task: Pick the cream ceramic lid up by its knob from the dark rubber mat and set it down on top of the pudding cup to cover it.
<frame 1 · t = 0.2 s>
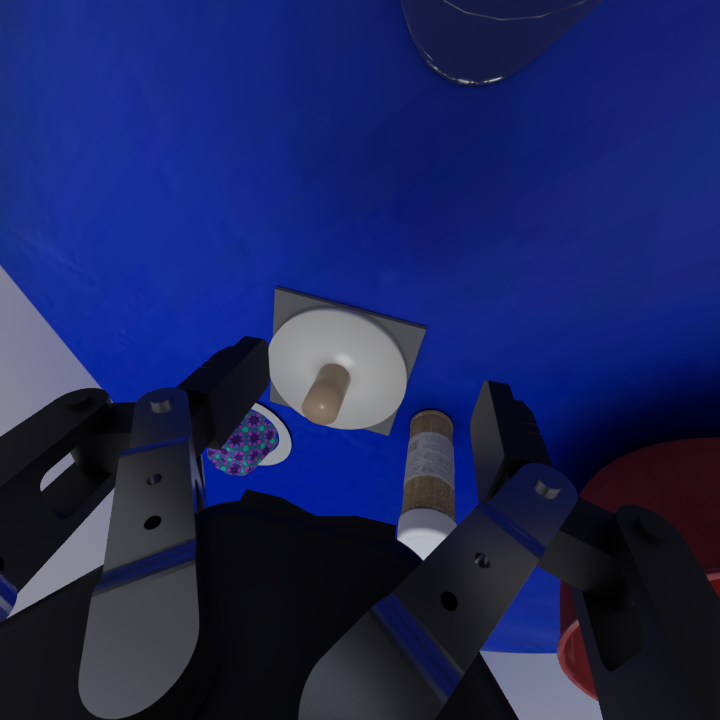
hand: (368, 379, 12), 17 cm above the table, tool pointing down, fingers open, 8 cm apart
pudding: (250, 428, 43), on the table
mixing bowl: (673, 484, 34), on the table
mat: (339, 367, 34), on the table
lid: (337, 370, 34), point 1 cm above the table, touching mat
sprinkles bottle: (431, 422, 36), on the table
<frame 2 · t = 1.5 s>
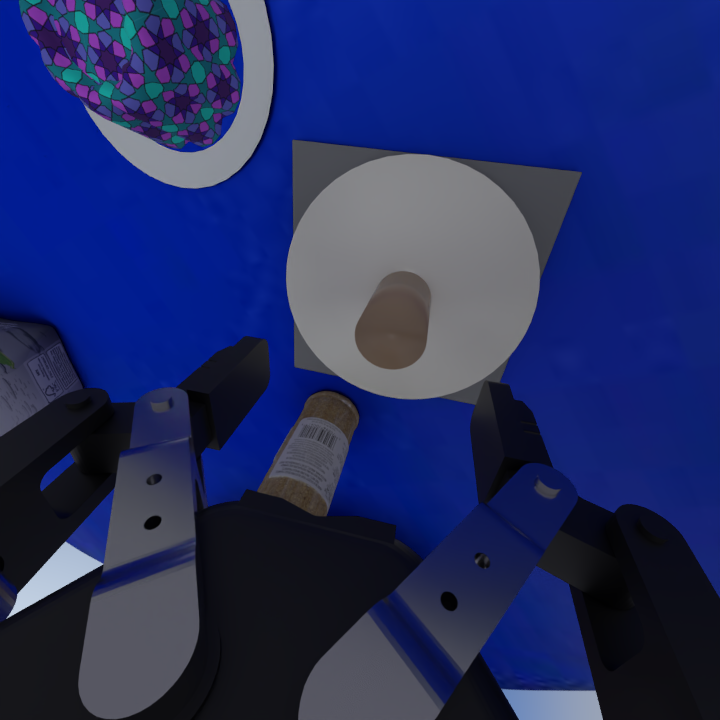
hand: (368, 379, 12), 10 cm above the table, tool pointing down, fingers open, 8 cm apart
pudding: (174, 58, 17), on the table
mat: (405, 289, 20), on the table
lid: (404, 292, 20), point 1 cm above the table, touching mat
sprinkles bottle: (333, 410, 27), on the table
juice carton: (36, 352, 31), on the table
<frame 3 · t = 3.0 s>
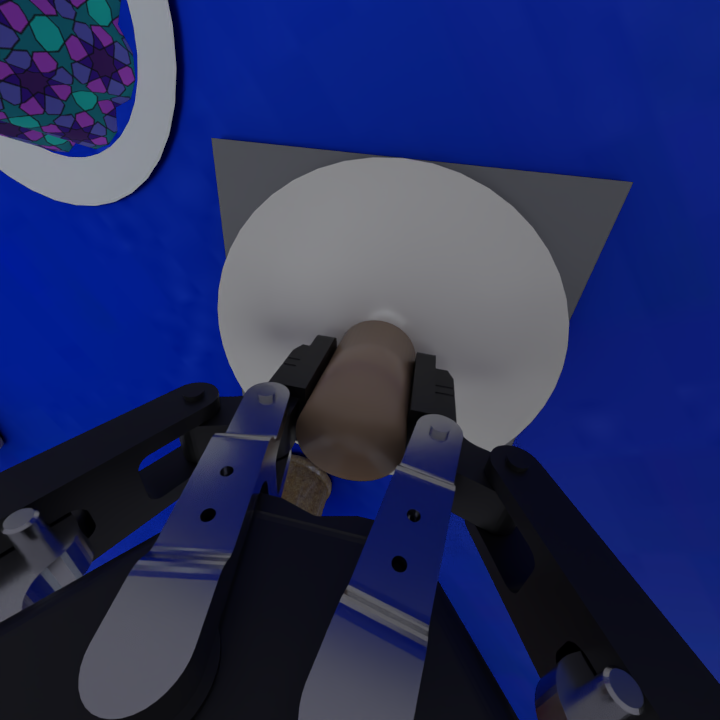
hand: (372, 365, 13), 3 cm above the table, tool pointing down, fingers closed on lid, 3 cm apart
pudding: (40, 22, 12), on the table
mat: (382, 336, 15), on the table
lid: (380, 342, 15), point 1 cm above the table, touching gripper, mat
sprinkles bottle: (301, 473, 22), on the table
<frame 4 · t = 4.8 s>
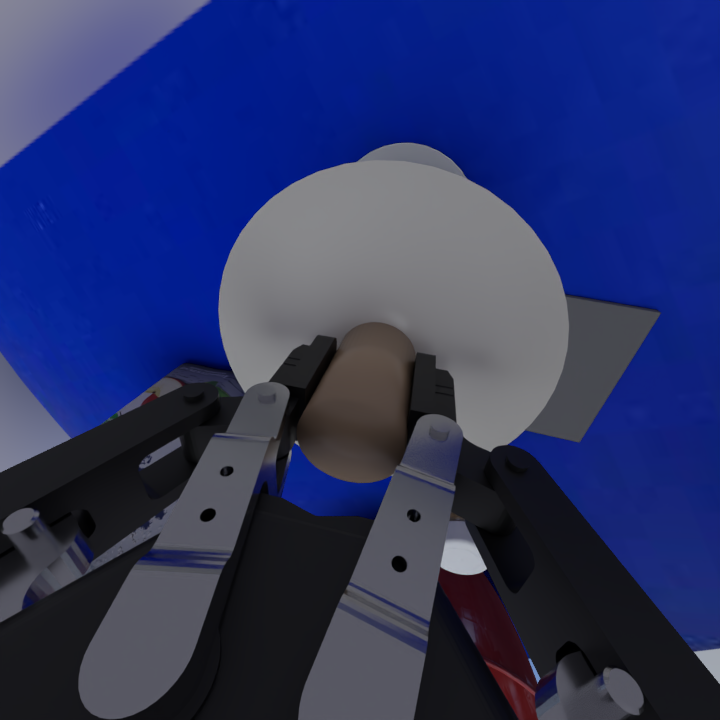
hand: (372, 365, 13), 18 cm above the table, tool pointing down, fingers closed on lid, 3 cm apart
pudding: (401, 228, 28), on the table
mixing bowl: (421, 559, 50), on the table
mat: (531, 365, 31), on the table
lid: (381, 344, 15), point 16 cm above the table, touching gripper
sprinkles bottle: (457, 439, 37), on the table
juice carton: (222, 389, 42), on the table
when the fingers open (8 cm above the table, at t = 7.0 s): lid drops 1 cm, resting on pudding.
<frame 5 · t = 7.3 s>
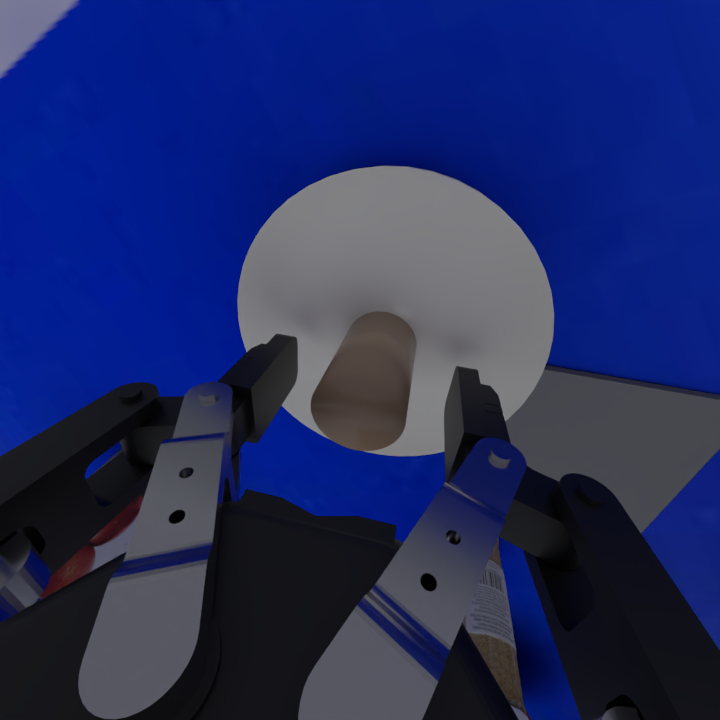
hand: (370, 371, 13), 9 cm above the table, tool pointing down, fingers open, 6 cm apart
mat: (570, 458, 24), on the table
lid: (384, 332, 16), point 5 cm above the table, touching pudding
sprinkles bottle: (471, 531, 30), on the table
juice carton: (181, 468, 34), on the table
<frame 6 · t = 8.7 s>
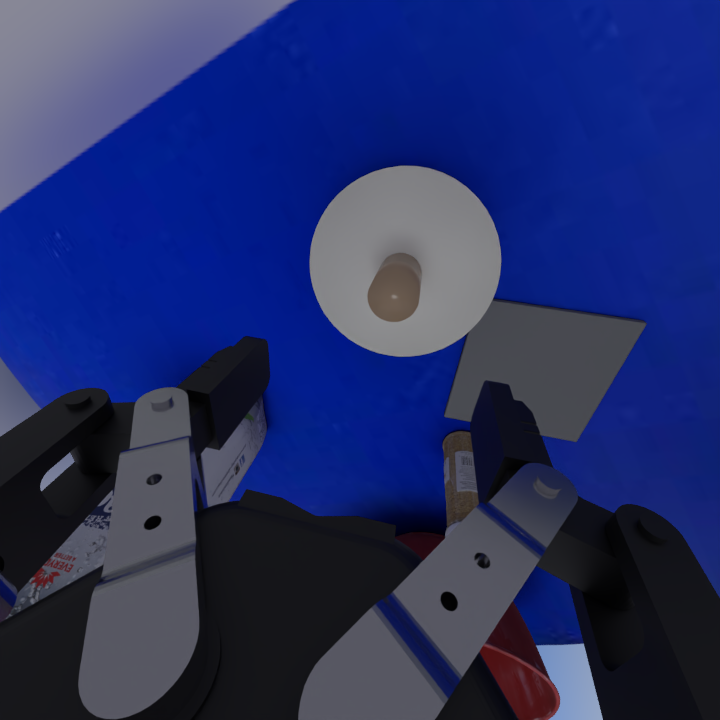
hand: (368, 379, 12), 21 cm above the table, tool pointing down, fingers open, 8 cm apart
mixing bowl: (429, 556, 53), on the table
mat: (530, 373, 33), on the table
lid: (401, 270, 26), point 5 cm above the table, touching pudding
sprinkles bottle: (462, 442, 40), on the table
juice carton: (235, 403, 44), on the table
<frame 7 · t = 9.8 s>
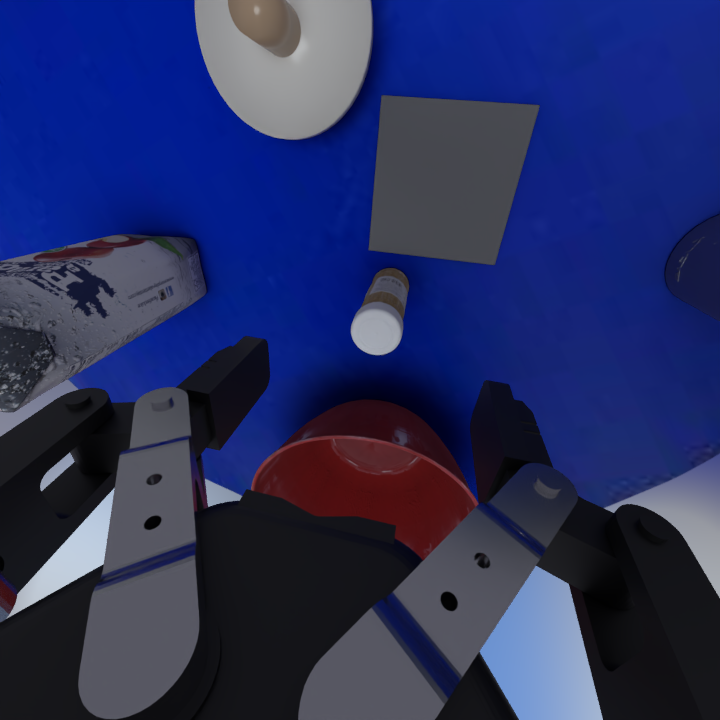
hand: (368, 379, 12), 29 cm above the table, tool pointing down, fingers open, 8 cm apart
mixing bowl: (378, 436, 54), on the table
mat: (442, 186, 34), on the table
lid: (286, 34, 27), point 5 cm above the table
sprinkles bottle: (391, 285, 41), on the table
juice carton: (174, 264, 44), on the table
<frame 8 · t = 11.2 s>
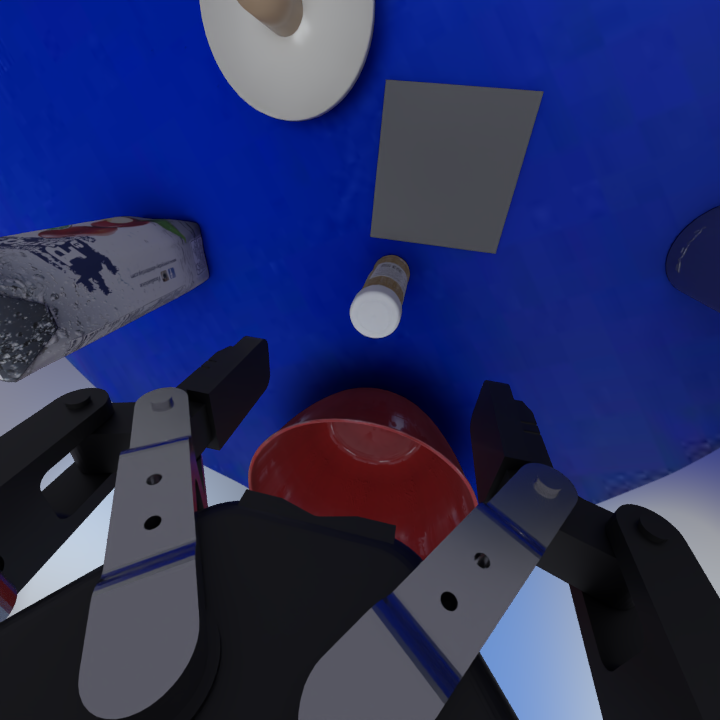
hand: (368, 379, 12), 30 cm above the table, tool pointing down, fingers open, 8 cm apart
mixing bowl: (376, 426, 54), on the table
mat: (445, 173, 34), on the table
lid: (289, 14, 27), point 5 cm above the table, touching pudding
sprinkles bottle: (392, 272, 41), on the table
juice carton: (177, 248, 45), on the table
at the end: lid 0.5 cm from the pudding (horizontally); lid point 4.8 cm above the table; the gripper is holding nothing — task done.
